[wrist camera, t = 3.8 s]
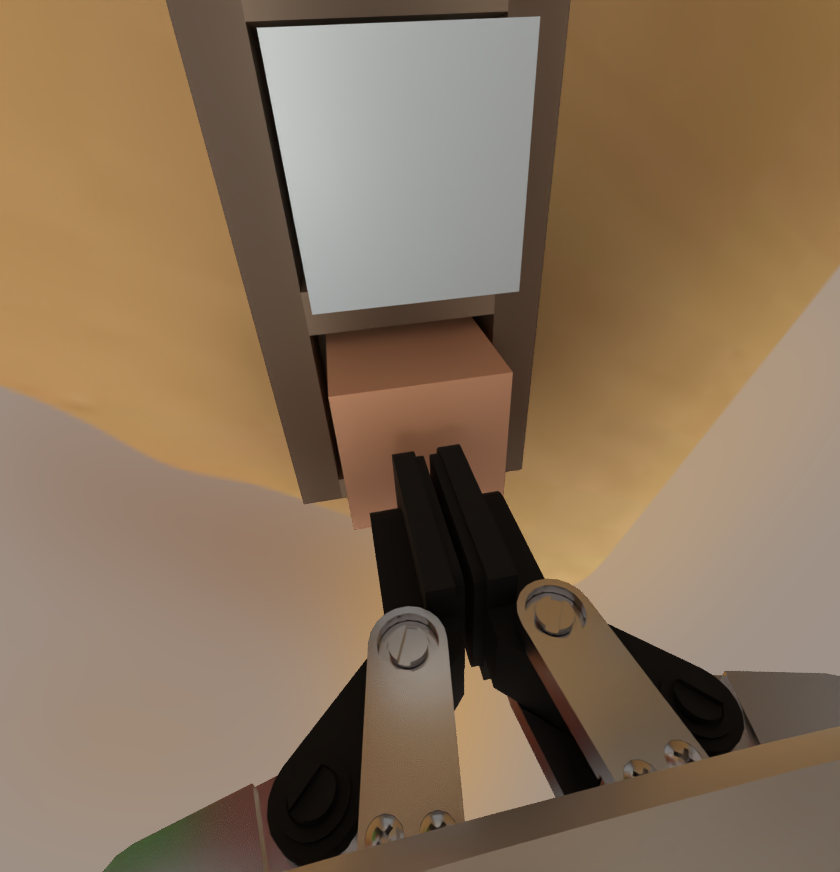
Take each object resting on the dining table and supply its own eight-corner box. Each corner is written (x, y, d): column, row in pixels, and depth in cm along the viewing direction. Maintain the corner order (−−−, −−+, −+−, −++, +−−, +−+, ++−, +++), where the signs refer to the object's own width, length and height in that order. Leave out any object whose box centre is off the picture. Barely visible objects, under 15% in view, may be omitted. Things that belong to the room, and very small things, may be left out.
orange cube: (469, 314, 14) (512, 372, 11) (467, 430, 17) (502, 504, 14) (325, 330, 14) (328, 397, 11) (346, 448, 17) (354, 529, 13)
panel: (530, -487, 9) (658, -841, 5) (489, 412, 20) (521, 469, 17) (72, -529, 8) (-106, -989, 4) (305, 438, 19) (303, 504, 16)
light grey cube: (472, 44, 11) (540, 16, 7) (470, 247, 13) (519, 291, 10) (275, 53, 10) (256, 27, 7) (313, 263, 13) (311, 314, 10)
